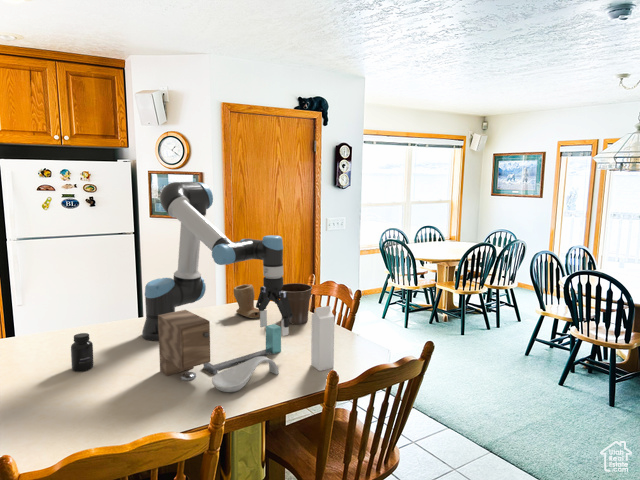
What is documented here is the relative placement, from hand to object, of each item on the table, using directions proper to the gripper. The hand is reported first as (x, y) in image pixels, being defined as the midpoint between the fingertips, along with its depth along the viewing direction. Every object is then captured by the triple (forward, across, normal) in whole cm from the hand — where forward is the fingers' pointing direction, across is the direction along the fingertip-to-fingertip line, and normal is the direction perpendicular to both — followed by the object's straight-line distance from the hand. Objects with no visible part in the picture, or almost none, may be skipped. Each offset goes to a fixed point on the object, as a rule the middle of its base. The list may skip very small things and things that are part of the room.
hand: (274, 330), depth 177 cm
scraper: (+8, 0, -13) cm, 15 cm away
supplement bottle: (+8, -32, -60) cm, 68 cm away
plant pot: (+8, -24, +30) cm, 40 cm away
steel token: (+8, 0, -36) cm, 37 cm away
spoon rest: (+9, +15, -23) cm, 29 cm away
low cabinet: (+8, -3, -36) cm, 37 cm away
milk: (+9, +22, +4) cm, 25 cm away
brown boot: (+8, -46, +18) cm, 50 cm away
